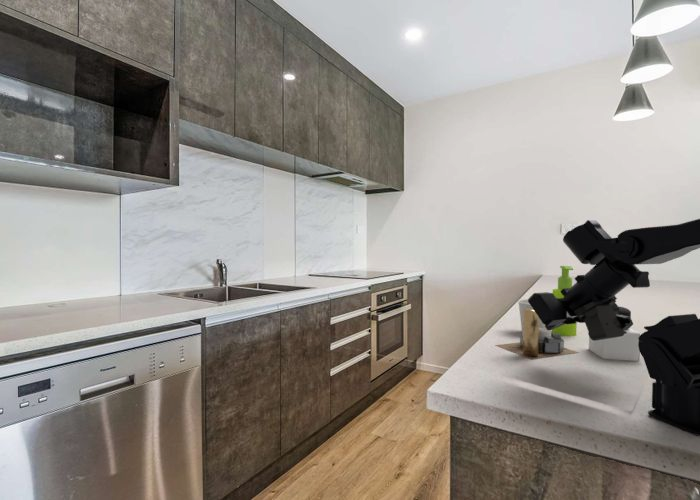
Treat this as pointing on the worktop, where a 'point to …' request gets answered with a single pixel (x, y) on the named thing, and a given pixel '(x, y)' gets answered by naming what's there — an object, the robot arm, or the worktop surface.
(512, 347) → the mount board
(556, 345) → the desk sculpture ornament
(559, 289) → the soap dispenser
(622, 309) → the medicine bottle
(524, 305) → the dixie cup
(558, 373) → the worktop surface
